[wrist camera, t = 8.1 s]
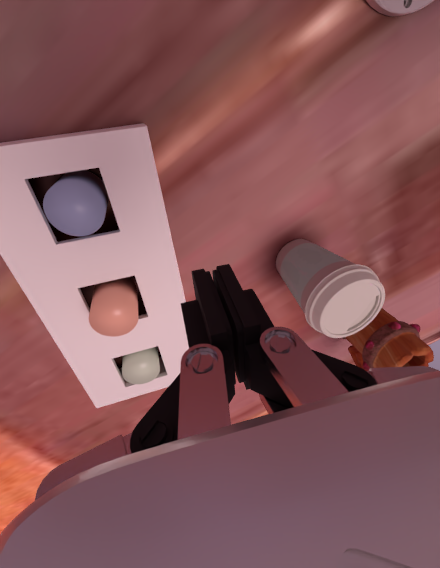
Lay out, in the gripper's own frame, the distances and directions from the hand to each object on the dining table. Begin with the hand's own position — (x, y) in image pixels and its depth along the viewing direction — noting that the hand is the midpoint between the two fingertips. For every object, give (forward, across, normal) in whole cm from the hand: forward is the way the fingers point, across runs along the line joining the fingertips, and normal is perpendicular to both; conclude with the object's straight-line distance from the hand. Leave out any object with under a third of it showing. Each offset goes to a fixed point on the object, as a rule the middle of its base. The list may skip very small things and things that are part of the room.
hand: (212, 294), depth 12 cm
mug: (+20, -24, +25) cm, 40 cm away
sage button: (+18, +8, +20) cm, 28 cm away
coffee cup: (+20, -15, +12) cm, 28 cm away
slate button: (+19, +9, 0) cm, 21 cm away
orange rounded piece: (+17, +8, +10) cm, 21 cm away
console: (+19, +8, +10) cm, 23 cm away
